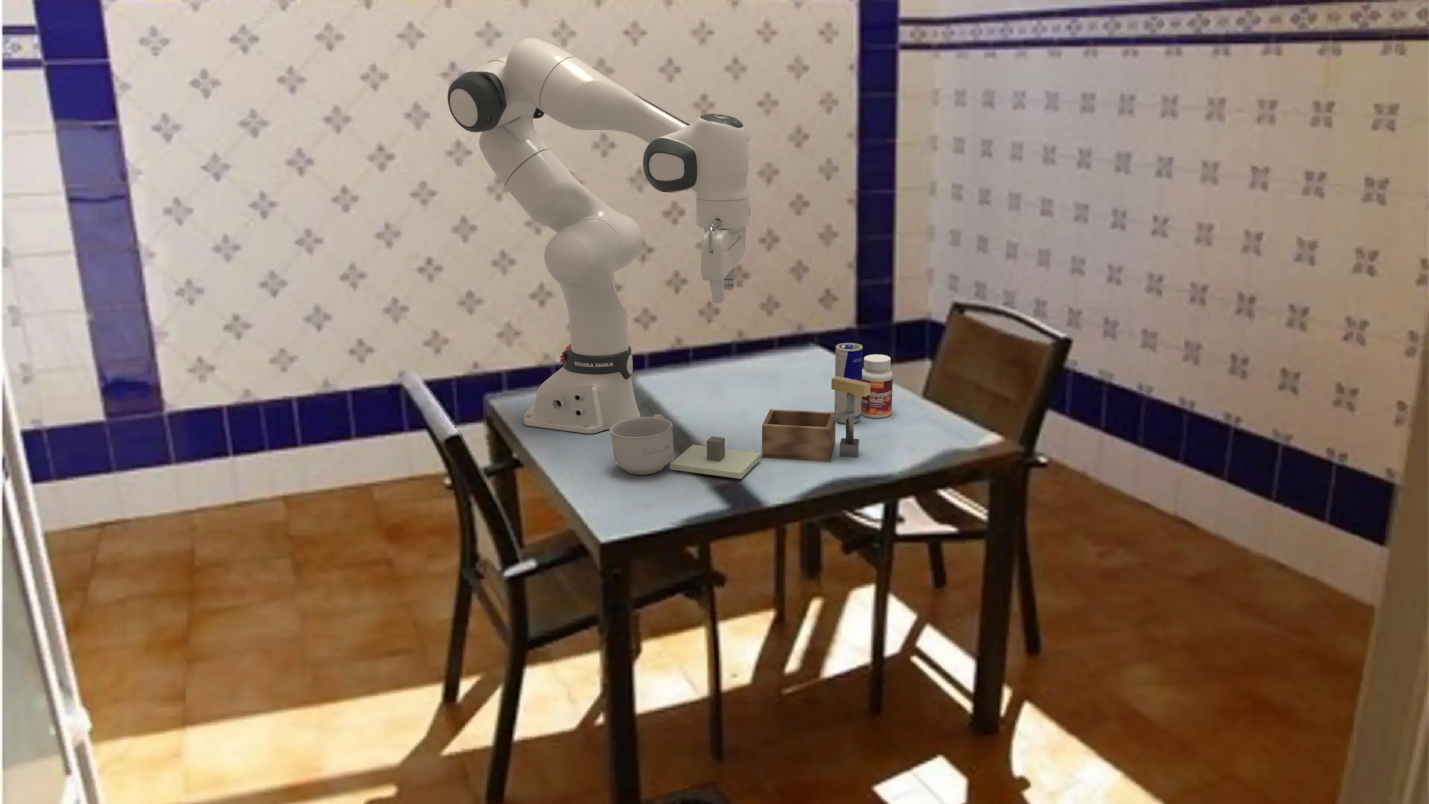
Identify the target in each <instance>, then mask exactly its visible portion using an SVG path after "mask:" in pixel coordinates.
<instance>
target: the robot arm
mask: <svg viewBox="0 0 1429 804" xmlns="http://www.w3.org/2000/svg"><path fill="white" fill-rule="evenodd" d="M447 105H448V108H449V111H450V114H451V115H452V116H451V117H453V119H454V120H455V122H456V123H457V124H458V125H459V126H460V127H461V128H462V129H463V130H466V131H467V132H471V133H480V135H479V139H478V143H479V149H480V151H481V153H482V156H484V158H485V160H486V163H488V165H489V166H490V168H491V170H492V171H493V173H494V174H495V176H496V177H497V179H498V180H499V181H500V182H501V184H502V185H503V186H504V187H505V189H506V190H507V191H508V192H509V193H510V194H511V196H512V197H513V198H514V199H515V201H516V202H517V203H518V204H519V205H520V206H521V208H522V209H523V210H524V211H525V212H526V214H527V215H528V216H529V217H530V218H531V219H532V220H533V221H535V222H536V223H539V224H541V225H544V226H546V227H548V228H550V229H551V230H552V231H554V232H555V233H556V234H555V235H553V237H552V238H550V239H549V241H548V243H547V244H546V246H545V249H544V255H543V256H544V257H543V258H544V263H545V267H546V269H547V272H548V273H549V274H550V276H551V277H552V279H554V280H556V281H557V283H558V284H559V286H560V288H561V291H562V293H563V296H564V300H565V304H566V308H567V312H568V321H569V337H570V343H569V344H568V345H567V346H566V347H565V349H564V351H562V352H561V355H559V363H562V367H561V368H559V369H558V370H557V371H556V372H554V373H553V374H552V375H550V377H548V378H547V379H546V380H544V381H543V383H541V384H540V386H539V387H538V389H537V391H536V394H535V398H534V404H533V405H532V406H531V407H530V408H528V409H527V410H526V412H525V413H524V415H523V424H524V425H525V426H528V427H536V428H542V429H543V428H544V429H549V430H551V429H552V430H556V431H558V430H559V431H566V432H574V433H581V434H589V435H591V434H596V433H600V432H602V431H606V430H610V428H611V427H612V426H613V425H614V424H616V423H618V422H621V421H624V420H627V419H631V418H638V417H641V414H640V411H639V408H638V404H637V402H636V397H635V393H634V392H635V391H634V387H633V380H632V375H633V371H634V369H633V365H634V364H633V355H632V348H631V346H630V344H629V343H630V341H629V320H628V319H629V318H628V317H629V315H628V308H627V306H626V304H625V303H624V302H623V301H622V300H621V298H620V297H619V294H618V291H617V288H616V284H615V280H614V278H615V277H614V275H615V272H617V271H619V270H622V269H625V268H626V267H627V266H629V264H630V263H632V262H633V261H634V259H635V258H637V255H639V254H640V251H641V250H642V247H643V246H642V245H643V235H642V231H641V229H640V226H639V225H638V223H637V222H636V220H634V219H633V218H631V217H630V216H628V215H626V214H623V213H621V212H619V211H617V210H615V209H614V208H613V207H611V206H609V205H608V204H607V203H606V202H604V201H603V200H602V199H601V198H599V197H598V196H597V195H595V194H594V193H593V192H592V191H590V189H588V188H586V186H584V185H583V184H582V183H581V182H580V181H579V180H578V179H577V178H576V177H575V176H574V174H573V173H571V172H570V170H569V169H568V168H567V167H566V166H565V164H564V163H563V162H562V161H561V159H559V158H558V157H557V155H556V154H555V153H554V151H552V150H551V148H550V147H549V145H548V144H547V143H546V142H545V141H544V140H543V139H542V138H541V136H540V135H539V134H538V132H537V131H536V130H535V126H534V125H535V124H534V119H540V118H543V117H544V115H545V114H546V115H547V116H548V117H550V118H552V119H553V120H554V121H556V122H558V123H560V124H562V125H565V126H567V127H569V128H572V129H574V130H575V129H576V130H581V131H582V130H583V131H615V132H621V133H626V134H630V135H633V136H635V137H637V138H639V139H640V140H642V141H644V142H645V143H648V145H647V146H646V148H645V150H644V153H643V156H642V157H643V158H642V168H643V173H644V175H645V176H644V177H645V178H646V180H647V182H648V183H649V184H650V185H651V187H652V188H654V190H656V191H659V192H661V193H667V194H668V193H669V194H677V193H680V192H686V191H691V190H692V191H693V192H694V193H695V210H696V212H695V213H696V214H695V215H696V216H695V218H696V222H695V223H696V226H697V227H699V228H703V235H702V237H701V250H700V251H701V252H700V253H701V255H700V275H701V278H702V280H703V281H709V286H710V290H711V297H712V298H711V301H712V303H714V304H722V303H723V302H724V301H725V291H733V290H734V289H735V287H736V281H735V280H736V273H737V266H738V265H737V264H738V263H739V262H740V261H742V259H743V257H744V255H745V250H746V248H745V247H746V239H747V238H746V236H747V226H749V225H750V217H751V208H750V194H749V189H748V185H747V179H748V174H749V170H750V166H749V163H750V161H749V160H750V159H749V144H748V137H747V132H746V128H745V126H744V124H743V122H742V121H740V119H738V118H736V117H734V116H732V115H731V116H730V115H726V114H719V113H718V114H717V113H705V114H701V115H700V116H698V118H696V120H695V121H693V122H692V123H688V122H687V121H684V120H683V119H680V118H679V117H678V116H676V115H674V114H672V113H670V112H668V111H667V110H665V109H663V108H661V107H659V106H658V105H656V104H654V103H653V102H650V101H649V100H648V99H645V98H643V97H642V96H639V95H637V94H635V93H633V92H632V91H630V90H628V89H627V88H625V87H623V86H622V85H621V84H618V83H617V82H615V81H613V80H612V79H610V78H609V77H607V76H605V75H604V74H602V73H601V72H599V71H598V70H596V69H595V68H593V67H591V66H590V65H589V64H587V63H586V62H584V60H583V61H582V60H581V59H580V58H578V57H576V56H575V55H573V54H572V53H570V52H568V51H566V50H564V49H562V48H561V47H558V46H557V45H555V44H552V43H550V42H548V41H545V40H543V39H541V38H540V39H539V38H536V37H527V38H523V39H522V40H520V41H518V42H517V43H515V45H514V46H513V47H512V48H511V49H510V51H509V52H508V54H507V55H504V56H501V57H497V58H494V59H491V60H489V61H487V63H485V64H483V65H481V66H478V67H477V68H475V69H473V70H471V71H467V72H465V73H463V74H462V75H460V76H458V77H457V78H456V79H454V81H453V82H452V83H451V84H450V85H449V87H448V91H447Z"/></svg>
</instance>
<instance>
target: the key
mask: <svg viewBox="0 0 1429 804" xmlns="http://www.w3.org/2000/svg"><path fill="white" fill-rule="evenodd" d="M830 384H831V388H830V389H831V390H833V391H835V390H837V391H841V392H845V393H847V401H846V410H844V411H842V412H840V413H837V414H835V415H833V416H831V420H833V421H836V423H840V422H841V421H843V420H846V424H845V438H846V442H854V439H855V438H854V437H855V423H854V415H855V412H854V402H855V395H858V396H863V397H865V396H868V395H870V387H871V383H867V382H862V381H858V380H853V379H849V378H844V377H840V376H836V377H835V376H834V377H832V378H831V383H830Z"/></svg>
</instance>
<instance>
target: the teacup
mask: <svg viewBox="0 0 1429 804" xmlns="http://www.w3.org/2000/svg"><path fill="white" fill-rule="evenodd" d="M673 427H674V424H673V422H672V421H671V420H669V419H666V418H665V416H664V415H663V414H658V413H657V414H654V415H653V416H640V417H638V418H631V419H627V420H624V421H621V422H618V423H616V424H614V425H613V426H612V427H611V428H610V429H609V432H610V434H611V435H610V437H611V445H612V452H613V457H614V461H615V462H616V464H617V466H619V468H622V470H625V471H626V473H629V474H632V475H639V476H641V475H651V474H652V475H653V474H654V473H658V472H660V471H661V470H663V469H664V468H665V467H666V465H667V466H668V464H670V463H671V462H672V461H671V460H672V458H673V456H674V450H675V449H674V434H673V433H674V431H673Z"/></svg>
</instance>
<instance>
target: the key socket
mask: <svg viewBox="0 0 1429 804" xmlns="http://www.w3.org/2000/svg"><path fill="white" fill-rule="evenodd" d="M839 442H840V443H839V457H850V458H851V457H853V458H858V457H859V454H860V438H854V442H846V437H845V438H843V437H841V439H840V441H839Z"/></svg>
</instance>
